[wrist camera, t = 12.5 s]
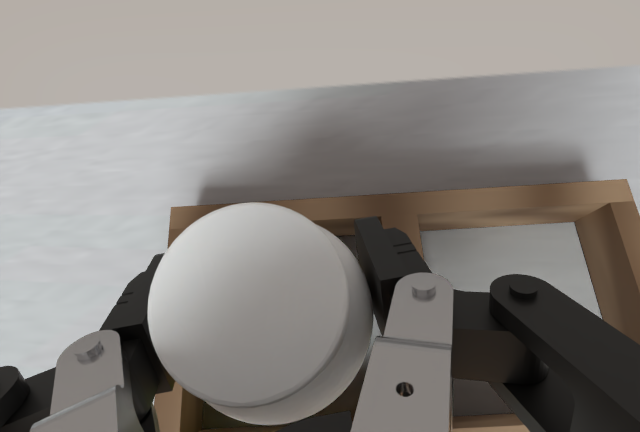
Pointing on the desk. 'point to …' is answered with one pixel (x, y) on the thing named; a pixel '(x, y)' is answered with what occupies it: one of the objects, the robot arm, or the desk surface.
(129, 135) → the desk surface
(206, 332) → the supplement bottle
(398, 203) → the organizer
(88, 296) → the desk surface
